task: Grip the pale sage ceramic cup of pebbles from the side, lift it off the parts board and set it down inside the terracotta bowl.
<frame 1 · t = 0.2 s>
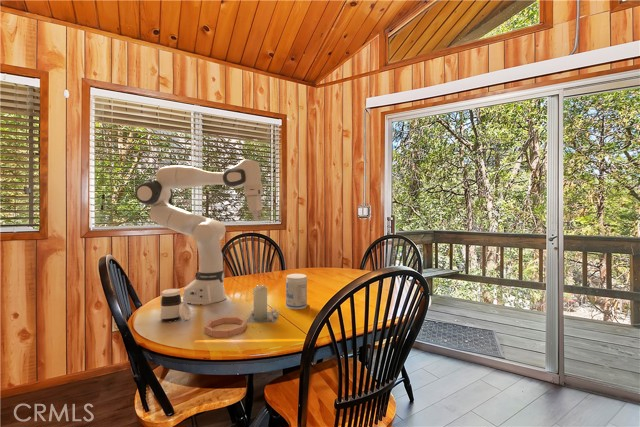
hand: (257, 219, 158), 39 cm above the table, tool pointing down, fingers open, 8 cm apart
pebble cup: (260, 317, 130), point 1 cm above the table, touching parts board
spread jar: (176, 319, 132), on the table
supplement tub: (296, 308, 146), on the table
bowl: (226, 330, 119), on the table
parts board: (263, 318, 132), on the table
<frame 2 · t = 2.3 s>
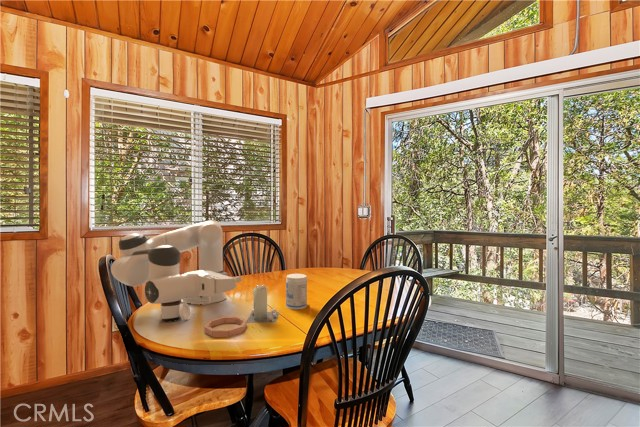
hand: (233, 276, 121), 20 cm above the table, tool horizontal, fingers open, 8 cm apart
nothing on the table moved.
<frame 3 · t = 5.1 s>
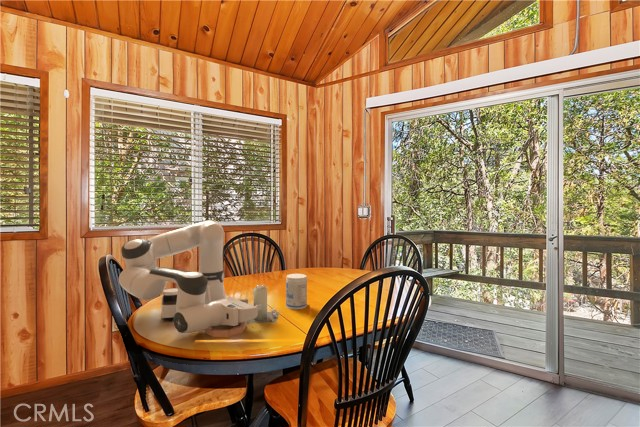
hand: (253, 303, 127), 8 cm above the table, tool horizontal, fingers open, 8 cm apart
spread jar: (176, 319, 132), on the table, touching arm
everything else where it was.
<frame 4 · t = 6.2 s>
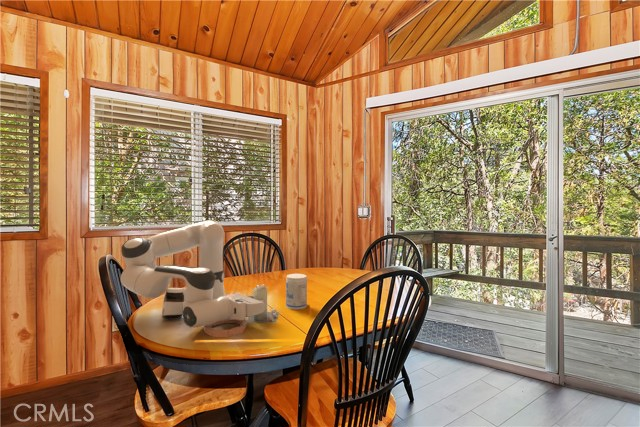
hand: (260, 299, 130), 9 cm above the table, tool horizontal, fingers open, 6 cm apart
pebble cup: (260, 317, 130), point 1 cm above the table, touching gripper, parts board
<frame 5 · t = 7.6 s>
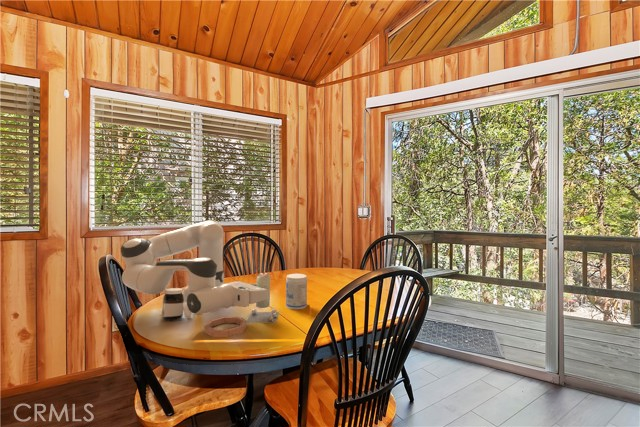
hand: (262, 287, 131), 13 cm above the table, tool horizontal, fingers closed on pebble cup, 5 cm apart
pebble cup: (262, 305, 132), point 6 cm above the table, touching gripper
spread jar: (177, 318, 132), on the table
everything else where it was.
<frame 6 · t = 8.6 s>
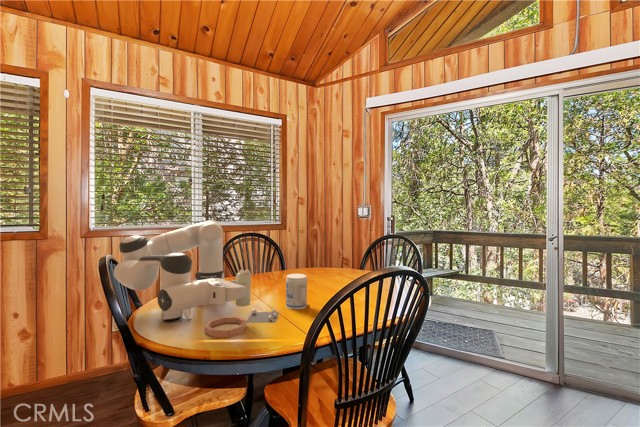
hand: (242, 284, 123), 16 cm above the table, tool horizontal, fingers closed on pebble cup, 5 cm apart
pebble cup: (242, 303, 124), point 9 cm above the table, touching gripper
when the fingers open (9 cm above the table, at t = 11.0 s): pebble cup stays where it is, resting on bowl.
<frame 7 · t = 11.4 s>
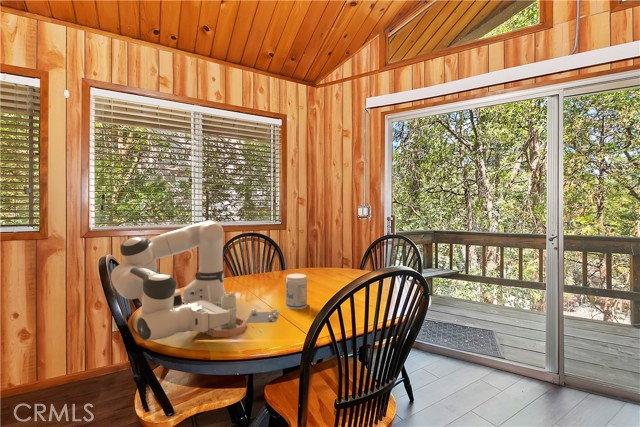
hand: (228, 307, 120), 9 cm above the table, tool horizontal, fingers open, 8 cm apart
pebble cup: (228, 328, 120), point 1 cm above the table, touching bowl
everything else where it was.
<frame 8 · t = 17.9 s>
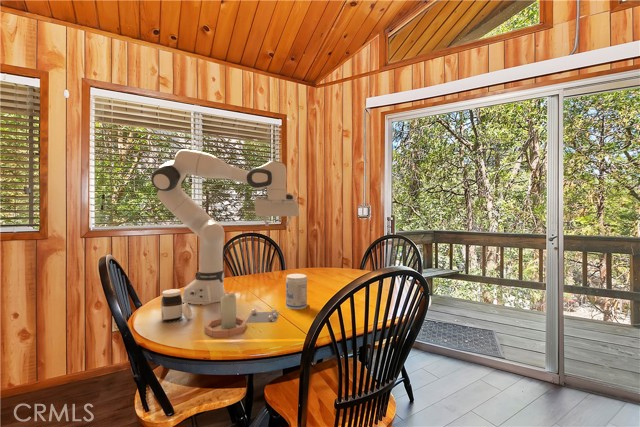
hand: (277, 226, 148), 37 cm above the table, tool pointing down, fingers open, 8 cm apart
nothing on the table moved.
at the end: pebble cup inside the target area on the bowl (1.2 cm from its centre), point 0.6 cm above the bowl's base; pebble cup tilted 0°; the gripper is holding nothing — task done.
